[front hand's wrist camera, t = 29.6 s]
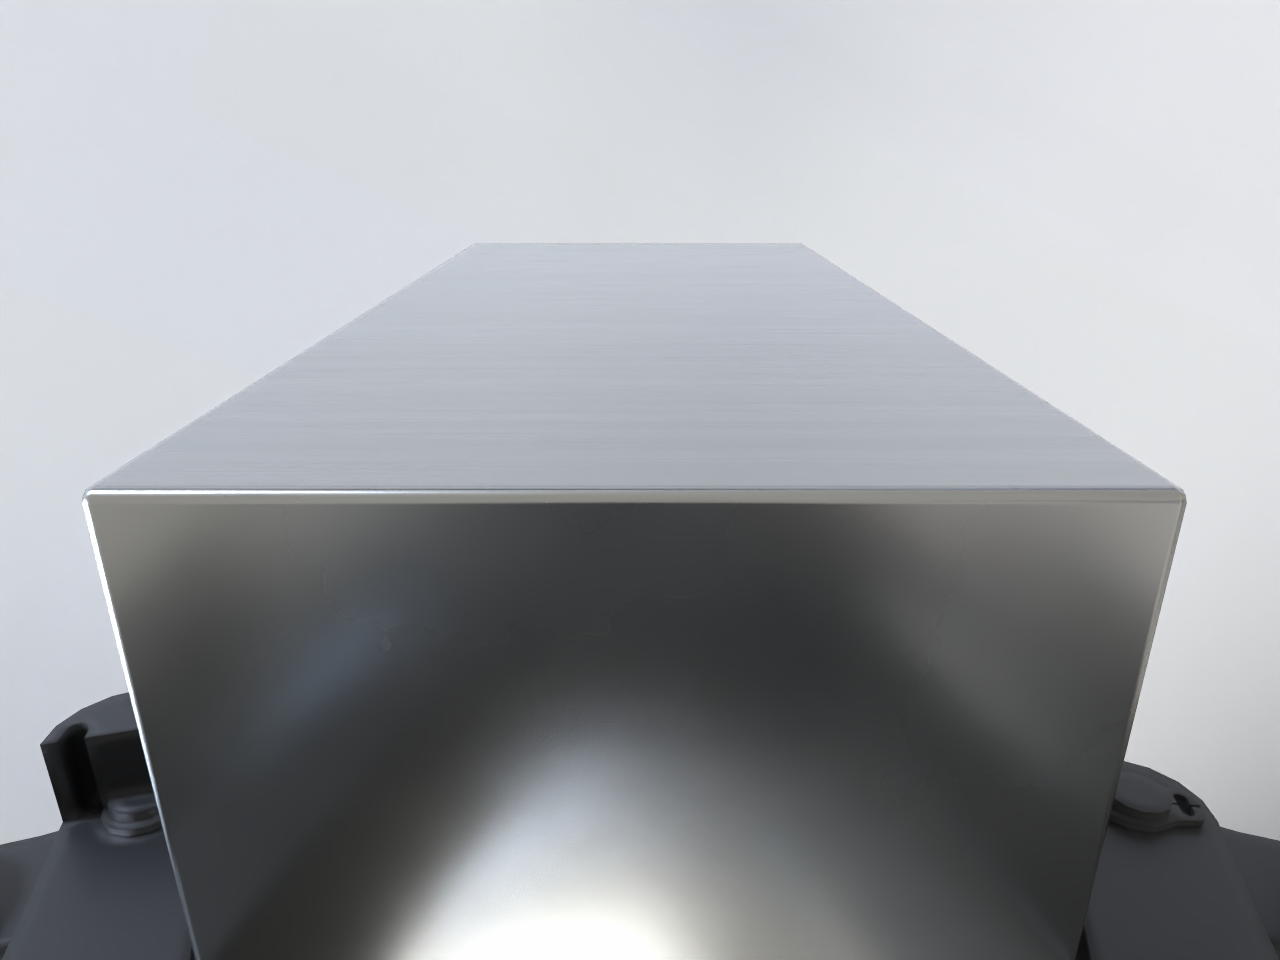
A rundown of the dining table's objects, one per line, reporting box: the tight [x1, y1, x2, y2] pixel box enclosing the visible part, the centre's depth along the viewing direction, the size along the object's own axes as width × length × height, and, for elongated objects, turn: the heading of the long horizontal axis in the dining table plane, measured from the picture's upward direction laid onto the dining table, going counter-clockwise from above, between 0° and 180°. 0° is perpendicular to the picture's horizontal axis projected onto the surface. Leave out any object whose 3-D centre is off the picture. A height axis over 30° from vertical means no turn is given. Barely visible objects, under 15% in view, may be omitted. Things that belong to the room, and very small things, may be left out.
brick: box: [82, 244, 1186, 960], centre depth 11 cm, size 9×6×11 cm, turn 0°
